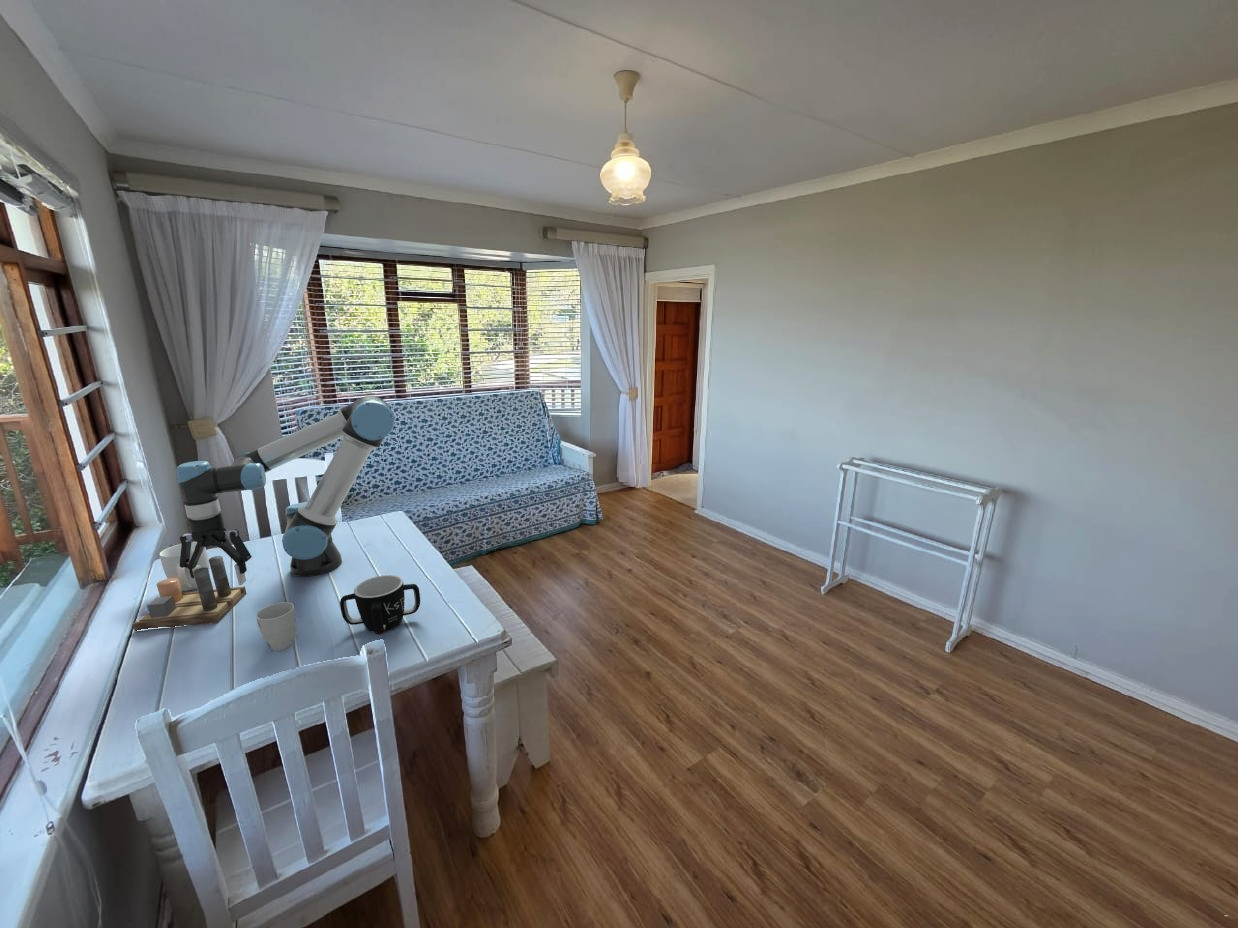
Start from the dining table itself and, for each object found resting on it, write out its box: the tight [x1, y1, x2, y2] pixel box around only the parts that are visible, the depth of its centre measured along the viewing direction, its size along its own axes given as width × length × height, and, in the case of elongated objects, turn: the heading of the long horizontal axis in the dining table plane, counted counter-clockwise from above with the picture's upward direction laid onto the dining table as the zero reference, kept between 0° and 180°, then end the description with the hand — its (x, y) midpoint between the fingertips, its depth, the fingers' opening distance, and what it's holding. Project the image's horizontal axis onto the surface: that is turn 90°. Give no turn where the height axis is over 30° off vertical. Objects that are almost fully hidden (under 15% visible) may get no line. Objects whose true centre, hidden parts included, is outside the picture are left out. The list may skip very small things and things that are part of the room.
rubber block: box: [146, 596, 177, 618], centre depth 139 cm, size 4×4×4 cm
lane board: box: [131, 585, 248, 632], centre depth 145 cm, size 20×16×2 cm
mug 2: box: [339, 574, 421, 635], centre depth 136 cm, size 16×16×12 cm
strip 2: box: [175, 555, 241, 605], centre depth 146 cm, size 19×5×13 cm, turn 102°
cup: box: [255, 601, 297, 652], centre depth 128 cm, size 8×8×10 cm
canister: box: [156, 578, 183, 602], centre depth 146 cm, size 5×5×6 cm
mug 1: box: [159, 541, 211, 592], centre depth 156 cm, size 15×11×13 cm
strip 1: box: [138, 567, 228, 622], centre depth 139 cm, size 19×5×13 cm, turn 102°
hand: (222, 584), depth 148 cm, fingers open, 10 cm apart
